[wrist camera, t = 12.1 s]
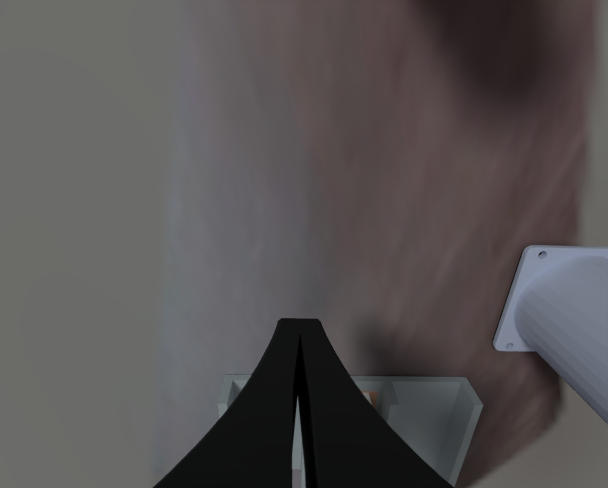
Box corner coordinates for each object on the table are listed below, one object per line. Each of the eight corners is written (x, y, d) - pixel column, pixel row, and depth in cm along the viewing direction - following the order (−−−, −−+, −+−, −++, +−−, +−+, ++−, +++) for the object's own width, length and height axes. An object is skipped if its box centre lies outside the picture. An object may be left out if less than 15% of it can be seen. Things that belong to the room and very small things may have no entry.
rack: (465, 376, 24) (483, 405, 22) (438, 463, 28) (451, 494, 26) (225, 374, 24) (218, 403, 21) (232, 463, 28) (226, 495, 25)
